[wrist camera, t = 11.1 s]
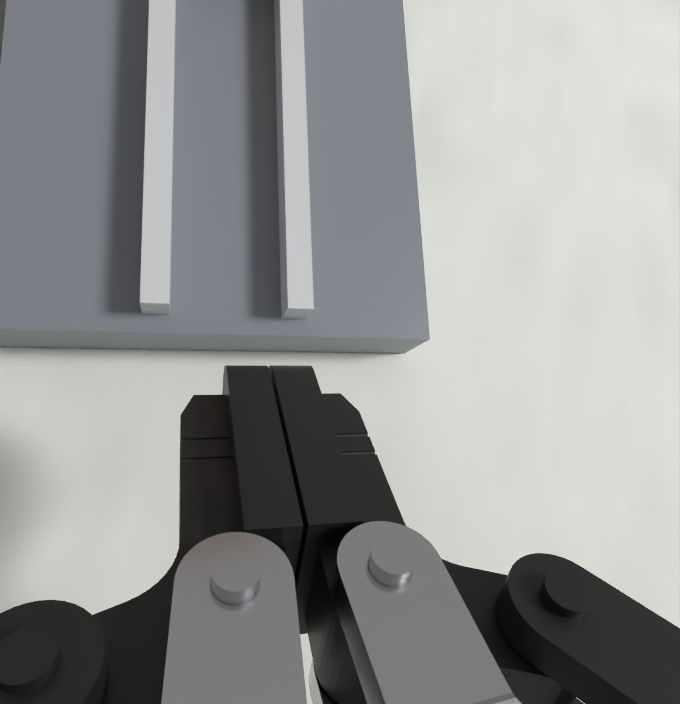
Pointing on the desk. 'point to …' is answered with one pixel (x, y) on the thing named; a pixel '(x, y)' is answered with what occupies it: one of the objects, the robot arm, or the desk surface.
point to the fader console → (209, 177)
